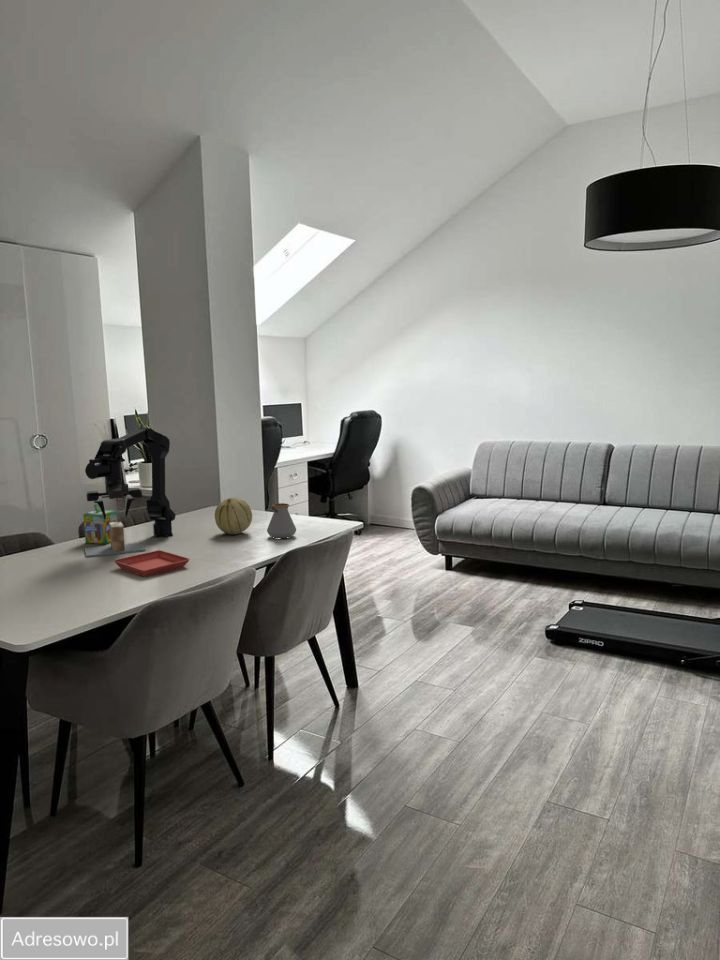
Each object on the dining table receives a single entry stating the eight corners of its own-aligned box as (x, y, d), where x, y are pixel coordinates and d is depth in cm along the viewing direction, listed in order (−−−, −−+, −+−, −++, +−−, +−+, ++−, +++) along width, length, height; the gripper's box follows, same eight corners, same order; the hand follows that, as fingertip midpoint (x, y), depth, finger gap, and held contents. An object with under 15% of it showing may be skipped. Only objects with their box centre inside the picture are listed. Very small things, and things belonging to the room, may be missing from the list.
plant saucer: (191, 567, 236) (191, 558, 236) (144, 580, 223) (143, 569, 222) (159, 558, 248) (159, 549, 247) (112, 570, 234) (112, 560, 234)
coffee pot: (270, 533, 284) (269, 496, 282) (299, 533, 283) (298, 496, 280) (257, 546, 263) (256, 506, 261) (288, 547, 262) (287, 507, 259)
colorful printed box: (106, 544, 267) (104, 506, 265) (84, 543, 269) (81, 505, 267) (119, 539, 276) (117, 501, 274) (98, 538, 278) (95, 501, 276)
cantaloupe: (254, 529, 291) (253, 493, 289) (250, 537, 277) (249, 499, 274) (218, 530, 291) (217, 493, 288) (212, 538, 276) (210, 500, 274)
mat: (141, 543, 268) (140, 542, 268) (145, 551, 257) (145, 549, 257) (84, 549, 260) (84, 548, 260) (86, 557, 249) (86, 555, 249)
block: (122, 545, 263) (121, 521, 262) (124, 550, 256) (123, 525, 255) (111, 546, 262) (109, 522, 260) (113, 551, 255) (111, 526, 253)
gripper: (86, 480, 244) (89, 524, 246) (143, 476, 251) (145, 519, 254) (84, 475, 254) (87, 518, 256) (138, 472, 261) (141, 514, 264)
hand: (115, 517), depth 257 cm, fingers open, 7 cm apart
